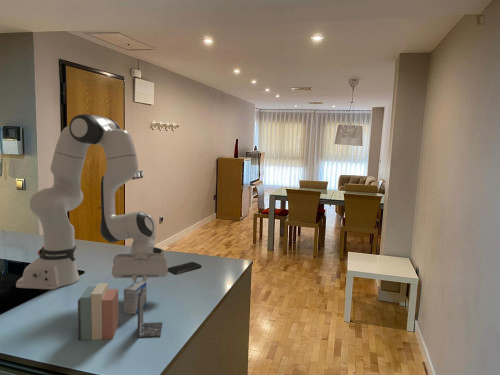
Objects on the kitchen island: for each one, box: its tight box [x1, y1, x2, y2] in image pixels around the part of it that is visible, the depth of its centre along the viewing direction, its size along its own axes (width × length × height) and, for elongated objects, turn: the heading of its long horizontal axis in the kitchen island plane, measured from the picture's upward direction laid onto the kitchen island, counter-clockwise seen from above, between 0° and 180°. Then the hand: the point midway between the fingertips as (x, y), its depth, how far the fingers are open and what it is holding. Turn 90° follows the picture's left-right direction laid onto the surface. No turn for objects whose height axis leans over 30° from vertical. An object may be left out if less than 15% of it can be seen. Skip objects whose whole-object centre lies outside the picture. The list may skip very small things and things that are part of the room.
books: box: [79, 282, 119, 341], centre depth 108 cm, size 9×8×14 cm
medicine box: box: [123, 280, 148, 315], centre depth 124 cm, size 8×4×9 cm, turn 168°
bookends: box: [77, 288, 163, 341], centre depth 109 cm, size 23×8×12 cm, turn 99°
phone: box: [168, 261, 203, 275], centre depth 166 cm, size 8×1×15 cm
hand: (138, 287), depth 131 cm, fingers closed
